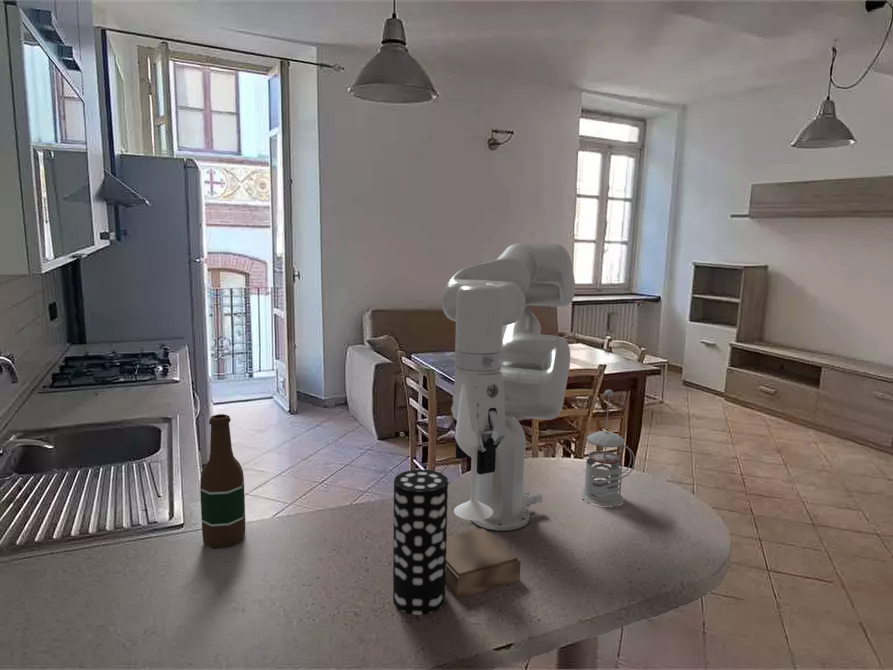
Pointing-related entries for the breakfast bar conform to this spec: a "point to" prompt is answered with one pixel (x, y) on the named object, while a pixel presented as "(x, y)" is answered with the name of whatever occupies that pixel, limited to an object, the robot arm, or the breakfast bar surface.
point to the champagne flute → (470, 446)
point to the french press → (601, 489)
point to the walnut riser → (478, 563)
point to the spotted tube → (420, 541)
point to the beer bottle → (222, 490)
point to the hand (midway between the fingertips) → (474, 463)
